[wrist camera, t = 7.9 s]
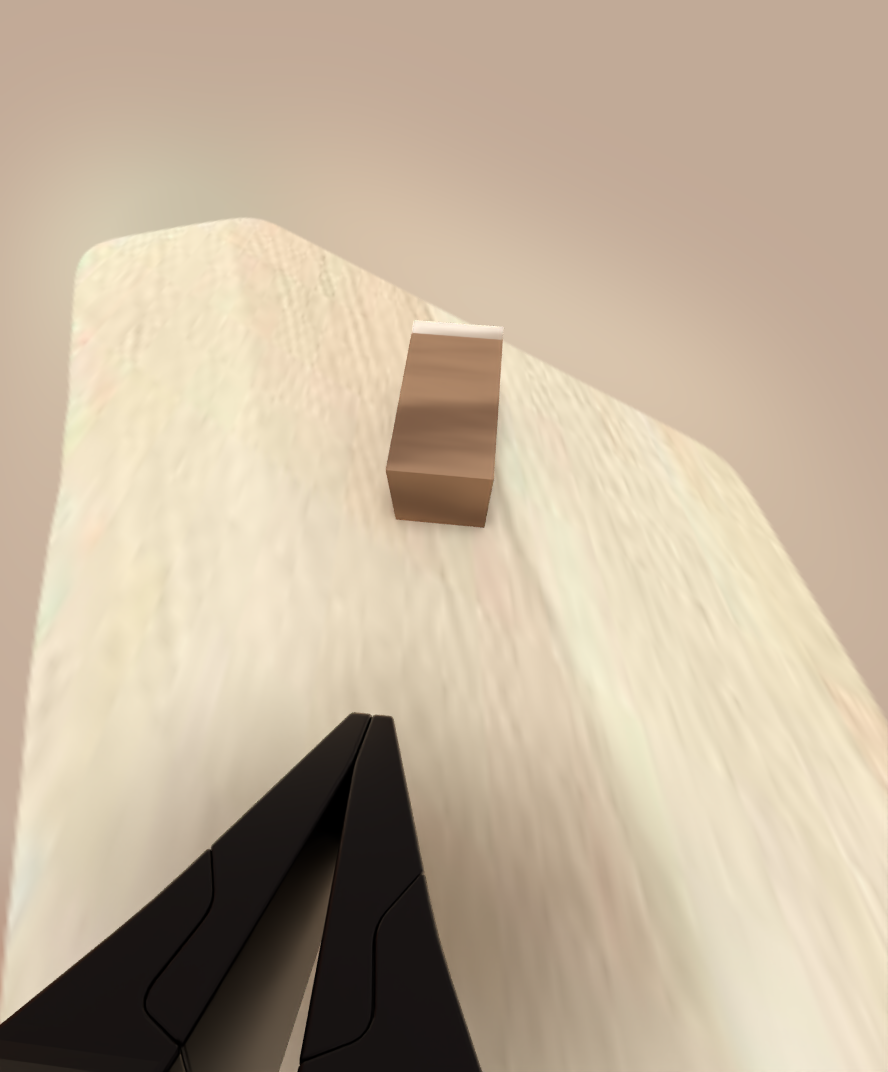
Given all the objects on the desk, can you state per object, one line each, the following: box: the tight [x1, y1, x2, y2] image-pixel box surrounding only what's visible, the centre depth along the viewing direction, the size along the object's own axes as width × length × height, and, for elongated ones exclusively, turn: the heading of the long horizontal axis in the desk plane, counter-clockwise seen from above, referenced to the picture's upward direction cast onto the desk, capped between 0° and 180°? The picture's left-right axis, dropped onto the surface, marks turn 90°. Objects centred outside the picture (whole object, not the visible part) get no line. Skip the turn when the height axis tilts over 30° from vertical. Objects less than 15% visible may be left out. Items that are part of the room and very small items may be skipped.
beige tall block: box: [386, 320, 503, 528], centre depth 25 cm, size 5×5×10 cm
